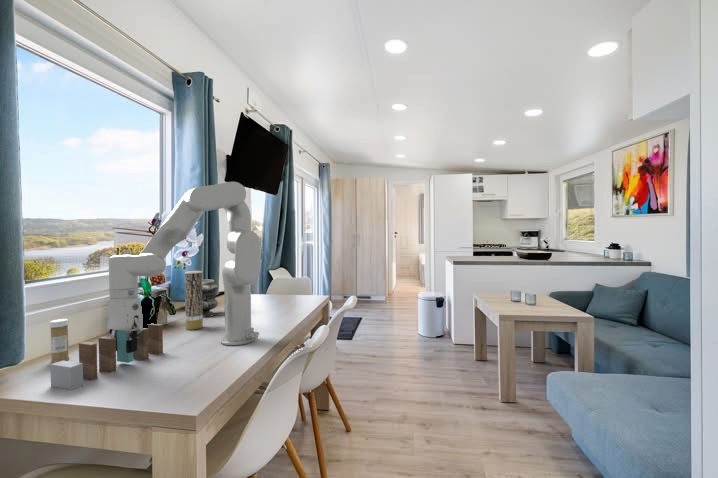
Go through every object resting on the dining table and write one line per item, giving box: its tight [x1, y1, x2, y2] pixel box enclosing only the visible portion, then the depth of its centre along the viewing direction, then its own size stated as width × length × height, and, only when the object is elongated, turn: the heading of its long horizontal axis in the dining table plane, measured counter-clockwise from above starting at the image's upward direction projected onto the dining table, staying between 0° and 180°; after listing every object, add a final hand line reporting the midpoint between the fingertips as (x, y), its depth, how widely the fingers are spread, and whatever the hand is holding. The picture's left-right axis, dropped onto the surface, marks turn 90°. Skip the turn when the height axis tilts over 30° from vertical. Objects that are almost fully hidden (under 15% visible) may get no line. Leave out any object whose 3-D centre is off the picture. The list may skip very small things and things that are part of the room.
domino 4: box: [133, 328, 150, 361], centre depth 115 cm, size 2×5×10 cm, turn 72°
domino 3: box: [116, 330, 134, 364], centre depth 110 cm, size 2×5×10 cm, turn 71°
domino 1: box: [78, 341, 99, 381], centre depth 99 cm, size 2×5×10 cm, turn 71°
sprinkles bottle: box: [49, 318, 70, 364], centre depth 114 cm, size 5×5×14 cm
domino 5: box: [147, 323, 164, 355], centre depth 120 cm, size 2×5×10 cm, turn 71°
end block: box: [49, 360, 84, 391], centre depth 94 cm, size 8×3×6 cm, turn 72°
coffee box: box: [139, 289, 168, 326], centre depth 157 cm, size 9×6×16 cm
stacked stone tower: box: [202, 279, 219, 318], centre depth 178 cm, size 12×12×18 cm
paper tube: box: [184, 270, 204, 331], centre depth 152 cm, size 7×7×25 cm
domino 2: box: [98, 336, 117, 373], centre depth 104 cm, size 2×5×10 cm, turn 71°
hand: (125, 350), depth 110 cm, fingers closed on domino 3, 5 cm apart
